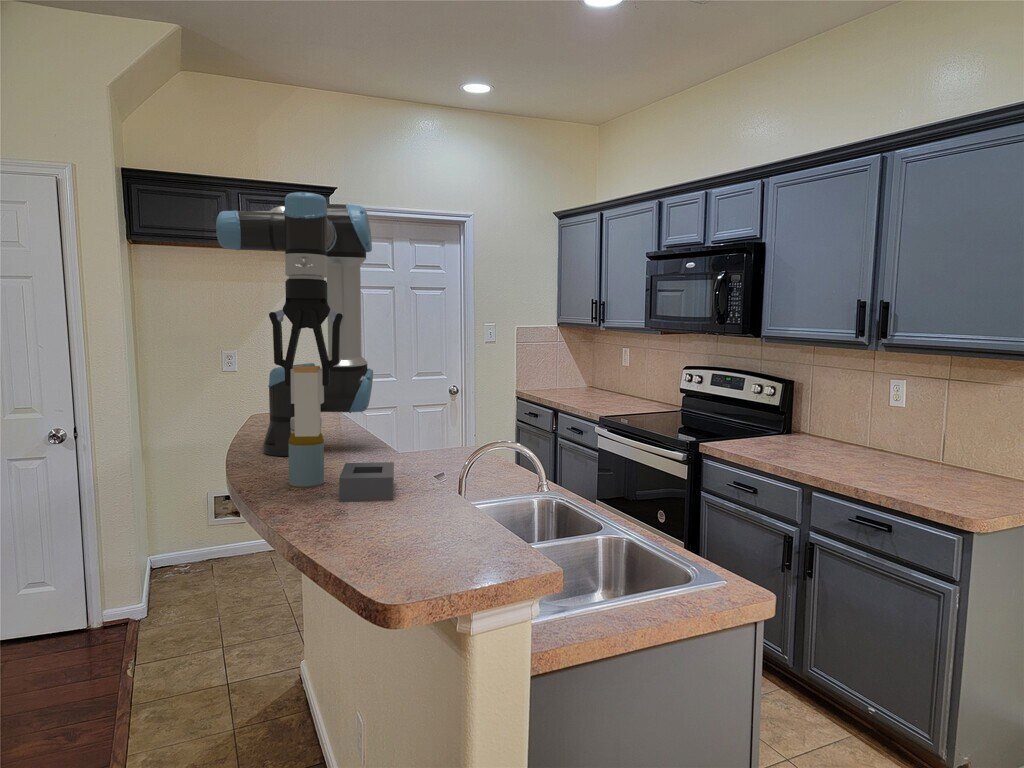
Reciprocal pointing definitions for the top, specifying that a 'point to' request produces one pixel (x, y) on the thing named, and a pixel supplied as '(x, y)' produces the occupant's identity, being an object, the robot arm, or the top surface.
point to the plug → (306, 401)
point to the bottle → (305, 460)
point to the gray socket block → (366, 482)
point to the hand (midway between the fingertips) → (307, 402)
